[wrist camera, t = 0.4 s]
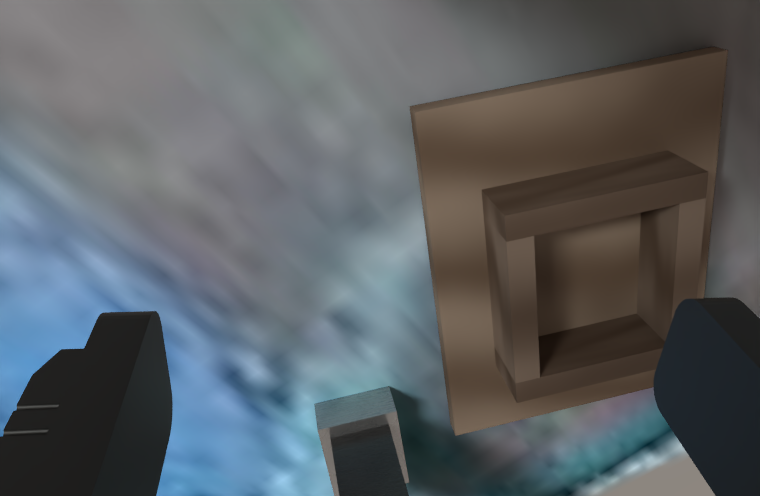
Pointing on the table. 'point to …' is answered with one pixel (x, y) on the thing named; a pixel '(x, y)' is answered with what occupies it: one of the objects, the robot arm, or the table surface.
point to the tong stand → (567, 230)
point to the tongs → (363, 444)
